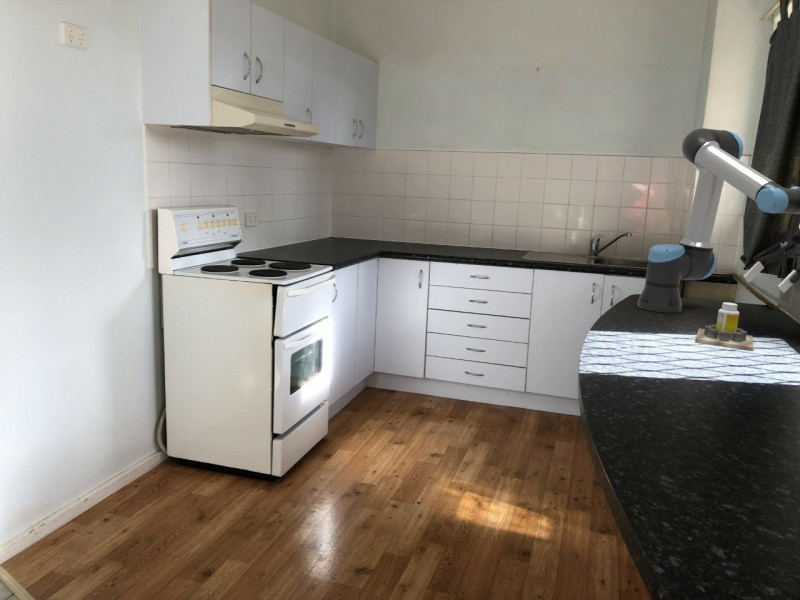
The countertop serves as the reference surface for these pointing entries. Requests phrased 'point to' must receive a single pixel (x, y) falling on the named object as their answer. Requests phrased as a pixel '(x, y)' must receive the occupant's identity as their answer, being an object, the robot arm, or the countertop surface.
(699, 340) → the collar plate
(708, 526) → the countertop surface
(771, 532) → the countertop surface
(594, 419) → the countertop surface
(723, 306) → the supplement bottle
